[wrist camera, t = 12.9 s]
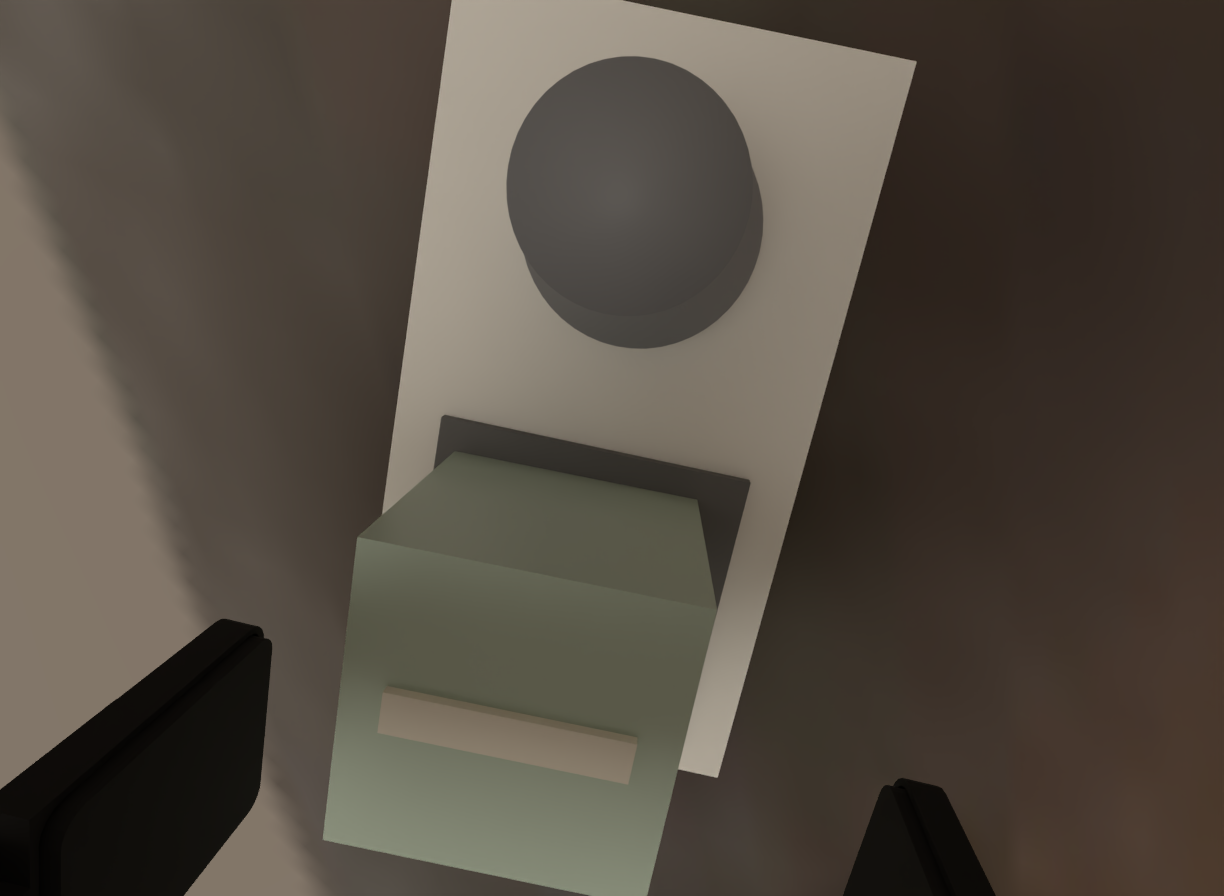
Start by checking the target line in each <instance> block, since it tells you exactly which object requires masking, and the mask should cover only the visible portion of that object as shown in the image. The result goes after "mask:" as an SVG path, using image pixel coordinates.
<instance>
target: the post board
mask: <svg viewBox="0 0 1224 896" xmlns="http://www.w3.org/2000/svg"><path fill="white" fill-rule="evenodd" d="M916 62H917V61H912V60H907V59H902V58H897V57H893V56H888V55H883V54H878V53H873V52H869V51H864V50H859V49H854V48H849V47H844V46H840V45H835V44H830V43H825V42H820V41H816V40H811V39H806V38H801V37H796V36H791V35H787V34H782V33H777V32H772V31H767V30H762V29H758V28H753V27H748V26H743V25H738V24H734V23H729V22H724V21H719V20H714V19H709V18H705V17H700V16H695V15H690V14H685V13H681V12H676V11H671V10H666V9H661V8H656V7H652V6H647V5H642V4H637V3H632V2H628V1H623V0H452V4H451V11H450V18H449V26H448V33H447V40H446V48H445V55H444V62H443V70H442V77H441V84H440V92H439V99H438V107H437V114H436V121H435V129H434V136H433V143H432V151H431V158H430V165H429V173H428V180H427V187H426V195H425V202H424V210H423V217H422V224H421V232H420V239H419V246H418V254H417V261H416V268H415V276H414V283H413V290H412V298H411V305H410V312H409V320H408V327H407V335H406V342H405V349H404V357H403V364H402V371H401V379H400V386H399V393H398V401H397V408H396V415H395V423H394V430H393V437H392V445H391V452H390V460H389V467H388V474H387V482H386V489H385V496H384V504H383V511H382V515H383V514H384V513H385V512H386V511H387V510H389V509H390V508H391V507H392V506H393V505H394V504H395V503H396V502H398V501H399V500H400V499H401V498H402V497H403V496H404V495H406V494H407V493H408V492H409V491H410V490H411V489H412V488H414V487H415V486H416V485H417V484H418V483H419V482H420V481H421V480H423V479H424V478H425V477H426V476H427V475H428V474H429V473H431V472H432V471H433V470H434V469H435V468H436V467H437V466H439V465H440V464H441V463H442V462H443V461H444V460H445V459H446V458H448V457H449V456H450V455H451V454H452V453H453V452H454V451H457V452H462V453H467V454H472V455H477V456H482V457H487V458H492V459H497V460H502V461H507V462H512V463H517V464H522V465H527V466H532V467H537V468H542V469H547V470H552V471H557V472H562V473H567V474H572V475H577V476H582V477H587V478H591V479H596V480H601V481H606V482H611V483H616V484H621V485H626V486H631V487H636V488H641V489H646V490H651V491H656V492H661V493H666V494H671V495H676V496H681V497H686V498H691V499H696V500H697V501H698V506H699V512H700V517H701V523H702V528H703V534H704V540H705V545H706V551H707V556H708V562H709V567H710V573H711V578H712V584H713V589H714V595H715V601H716V606H717V613H716V617H715V621H714V625H713V629H712V633H711V637H710V641H709V645H708V649H707V653H706V657H705V661H704V666H703V670H702V674H701V678H700V682H699V686H698V690H697V694H696V698H695V702H694V706H693V710H692V714H691V718H690V722H689V726H688V731H687V735H686V739H685V743H684V747H683V751H682V755H681V759H680V763H679V767H678V769H680V770H684V771H689V772H694V773H698V774H703V775H707V776H712V777H717V778H718V774H719V770H720V767H721V763H722V760H723V756H724V752H725V749H726V745H727V742H728V738H729V735H730V731H731V727H732V724H733V720H734V717H735V713H736V709H737V706H738V702H739V699H740V695H741V691H742V688H743V684H744V681H745V677H746V673H747V670H748V666H749V663H750V659H751V655H752V652H753V648H754V645H755V641H756V637H757V634H758V630H759V627H760V623H761V619H762V616H763V612H764V609H765V605H766V602H767V598H768V594H769V591H770V587H771V584H772V580H773V576H774V573H775V569H776V566H777V562H778V558H779V555H780V551H781V548H782V544H783V540H784V537H785V533H786V530H787V526H788V522H789V519H790V515H791V512H792V508H793V504H794V501H795V497H796V494H797V490H798V486H799V483H800V479H801V476H802V472H803V468H804V465H805V461H806V458H807V454H808V451H809V447H810V443H811V440H812V436H813V433H814V429H815V425H816V422H817V418H818V415H819V411H820V407H821V404H822V400H823V397H824V393H825V389H826V386H827V382H828V379H829V375H830V371H831V368H832V364H833V361H834V357H835V353H836V350H837V346H838V343H839V339H840V335H841V332H842V328H843V325H844V321H845V317H846V314H847V310H848V307H849V303H850V300H851V296H852V292H853V289H854V285H855V282H856V278H857V274H858V271H859V267H860V264H861V260H862V256H863V253H864V249H865V246H866V242H867V238H868V235H869V231H870V228H871V224H872V220H873V217H874V213H875V210H876V206H877V202H878V199H879V195H880V192H881V188H882V184H883V181H884V177H885V174H886V170H887V166H888V163H889V159H890V156H891V152H892V149H893V145H894V141H895V138H896V134H897V131H898V127H899V123H900V120H901V116H902V113H903V109H904V105H905V102H906V98H907V95H908V91H909V87H910V84H911V80H912V77H913V73H914V69H915V66H916Z"/></svg>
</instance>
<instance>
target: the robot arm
mask: <svg viewBox="0 0 1224 896" xmlns="http://www.w3.org/2000/svg"><path fill="white" fill-rule="evenodd" d="M271 656H272V643H271V641H270V640H269V639H265V638H264V634H263V631H262V629H261V628H260V627H258V626H254V625H250V624H245V623H241V622H237V621H233V620H228V619H220V620H219V621H217V622H215V623H214V624H213V625H211V626H210V627H209V628H208V629H206V630H205V631H204V632H202V633H201V634H200V635H199V636H197V637H196V638H195V639H194V640H192V641H191V642H190V643H188V644H187V645H186V646H185V647H183V648H182V649H181V650H179V651H178V652H177V653H176V654H174V655H173V656H172V657H171V658H169V659H168V660H167V661H166V662H164V663H163V664H162V665H160V666H159V667H158V668H156V669H155V670H154V671H153V672H151V673H150V674H149V675H148V676H146V677H145V678H144V679H142V680H141V681H140V682H139V683H137V684H136V685H135V686H133V687H132V688H131V689H130V690H128V691H127V692H126V693H124V694H123V695H122V696H121V697H119V698H118V699H116V700H115V701H113V702H112V703H111V704H110V705H108V706H107V707H106V708H104V709H103V710H102V711H101V712H99V713H98V714H97V715H95V716H94V717H93V718H91V719H90V720H89V721H88V722H86V723H85V724H84V725H82V726H81V727H80V728H79V729H77V730H76V731H75V732H73V733H72V734H71V735H70V736H68V737H67V738H66V739H65V740H63V741H62V742H61V743H59V744H58V745H57V746H56V747H54V748H53V749H52V750H51V751H49V752H48V753H47V754H45V755H44V756H43V757H41V758H40V759H39V760H38V761H36V762H35V763H34V764H32V765H31V766H30V767H29V768H27V769H26V770H25V771H23V772H22V773H21V774H20V775H19V776H17V777H16V778H15V779H13V780H12V781H11V782H10V783H8V784H7V785H6V786H4V787H3V788H2V789H1V790H0V896H184V895H185V893H186V892H187V891H188V889H189V888H190V887H191V886H192V884H193V883H194V882H195V880H196V879H197V878H198V877H199V875H200V874H201V873H202V872H203V870H204V869H205V868H206V866H207V865H208V864H209V863H210V861H211V860H212V859H213V857H214V856H215V855H216V853H217V852H218V851H219V850H220V848H221V847H222V846H223V845H224V843H225V842H226V841H227V840H228V838H229V837H230V836H231V834H232V833H233V832H234V831H235V829H236V828H237V827H238V825H239V824H240V823H241V822H242V820H243V819H244V818H245V817H246V815H247V814H248V813H249V811H250V810H251V808H252V806H253V804H254V802H255V800H256V798H257V795H258V792H259V788H260V782H261V770H262V759H263V748H264V736H265V725H266V713H267V702H268V690H269V679H270V668H271ZM843 896H996V895H995V893H994V891H993V889H992V887H991V885H990V883H989V881H988V879H987V877H986V875H985V873H984V871H983V869H982V867H981V865H980V863H979V861H978V859H977V857H976V855H975V852H974V850H973V848H972V846H971V844H970V842H969V840H968V838H967V836H966V834H965V832H964V830H963V828H962V826H961V824H960V822H959V820H958V818H957V816H956V814H955V812H954V810H953V808H952V806H951V804H950V801H949V799H948V797H947V795H946V793H945V792H944V791H943V789H942V788H940V787H938V786H934V785H930V784H926V783H922V782H917V781H913V780H909V779H905V778H900V779H898V780H897V781H896V782H895V784H894V786H889V785H885V786H884V787H883V788H882V790H881V792H880V794H879V797H878V800H877V802H876V805H875V808H874V811H873V813H872V816H871V819H870V822H869V825H868V827H867V830H866V833H865V836H864V838H863V841H862V844H861V847H860V850H859V852H858V855H857V858H856V861H855V863H854V866H853V869H852V872H851V875H850V877H849V880H848V883H847V886H846V888H845V891H844V894H843Z"/></svg>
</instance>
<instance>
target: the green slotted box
mask: <svg viewBox="0 0 1224 896" xmlns="http://www.w3.org/2000/svg"><path fill="white" fill-rule="evenodd" d="M716 613H717V606H716V601H715V595H714V589H713V584H712V578H711V573H710V567H709V562H708V556H707V551H706V545H705V540H704V534H703V528H702V523H701V517H700V512H699V506H698V501H697V500H696V499H691V498H686V497H681V496H676V495H671V494H666V493H661V492H656V491H651V490H646V489H641V488H636V487H631V486H626V485H621V484H616V483H611V482H606V481H601V480H596V479H591V478H587V477H582V476H577V475H572V474H567V473H562V472H557V471H552V470H547V469H542V468H537V467H532V466H527V465H522V464H517V463H512V462H507V461H502V460H497V459H492V458H487V457H482V456H477V455H472V454H467V453H462V452H457V451H454V452H453V453H452V454H451V455H450V456H449V457H448V458H446V459H445V460H444V461H443V462H442V463H441V464H440V465H439V466H437V467H436V468H435V469H434V470H433V471H432V472H431V473H429V474H428V475H427V476H426V477H425V478H424V479H423V480H421V481H420V482H419V483H418V484H417V485H416V486H415V487H414V488H412V489H411V490H410V491H409V492H408V493H407V494H406V495H404V496H403V497H402V498H401V499H400V500H399V501H398V502H396V503H395V504H394V505H393V506H392V507H391V508H390V509H389V510H387V511H386V512H385V513H384V514H383V515H382V516H381V517H379V518H378V519H377V520H376V521H375V522H374V523H373V524H371V525H370V526H369V527H368V528H367V529H366V530H365V531H364V532H362V533H361V534H360V535H359V536H358V537H357V544H356V553H355V562H354V570H353V579H352V588H351V597H350V605H349V614H348V623H347V632H346V640H345V649H344V658H343V667H342V676H341V684H340V693H339V702H338V711H337V719H336V728H335V737H334V746H333V754H332V763H331V772H330V781H329V789H328V798H327V807H326V816H325V825H324V833H323V840H326V841H331V842H336V843H341V844H345V845H350V846H355V847H360V848H365V849H369V850H374V851H379V852H384V853H389V854H393V855H398V856H403V857H408V858H413V859H417V860H422V861H427V862H432V863H437V864H441V865H446V866H451V867H456V868H461V869H465V870H470V871H475V872H480V873H485V874H489V875H494V876H499V877H504V878H509V879H513V880H518V881H523V882H528V883H533V884H537V885H542V886H547V887H552V888H557V889H561V890H566V891H571V892H576V893H581V894H585V895H590V896H647V893H648V889H649V885H650V881H651V877H652V873H653V869H654V865H655V861H656V857H657V852H658V848H659V844H660V840H661V836H662V832H663V828H664V824H665V820H666V816H667V812H668V808H669V804H670V800H671V796H672V791H673V787H674V783H675V779H676V775H677V771H678V767H679V763H680V759H681V755H682V751H683V747H684V743H685V739H686V735H687V731H688V726H689V722H690V718H691V714H692V710H693V706H694V702H695V698H696V694H697V690H698V686H699V682H700V678H701V674H702V670H703V666H704V661H705V657H706V653H707V649H708V645H709V641H710V637H711V633H712V629H713V625H714V621H715V617H716Z"/></svg>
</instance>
